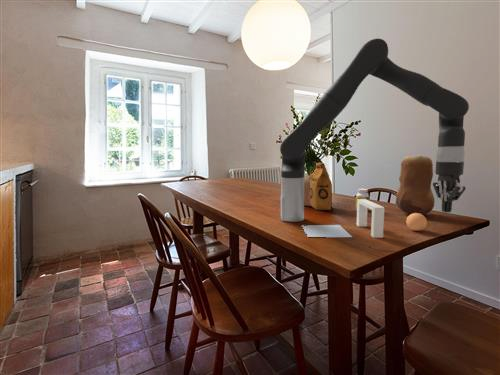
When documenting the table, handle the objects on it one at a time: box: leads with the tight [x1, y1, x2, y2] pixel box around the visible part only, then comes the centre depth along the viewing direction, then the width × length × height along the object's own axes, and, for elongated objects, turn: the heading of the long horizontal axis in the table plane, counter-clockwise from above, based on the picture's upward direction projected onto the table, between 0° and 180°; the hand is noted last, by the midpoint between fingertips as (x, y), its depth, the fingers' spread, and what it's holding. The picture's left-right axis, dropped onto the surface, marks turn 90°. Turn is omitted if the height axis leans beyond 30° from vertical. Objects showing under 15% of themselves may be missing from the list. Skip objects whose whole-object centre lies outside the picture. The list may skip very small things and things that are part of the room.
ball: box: [405, 213, 428, 232], centre depth 94 cm, size 6×6×6 cm
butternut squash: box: [395, 155, 435, 216], centre depth 115 cm, size 14×13×25 cm
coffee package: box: [308, 162, 333, 211], centre depth 132 cm, size 10×12×22 cm
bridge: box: [356, 199, 385, 239], centre depth 94 cm, size 3×15×10 cm, turn 178°
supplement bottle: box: [355, 188, 370, 212], centre depth 126 cm, size 5×5×10 cm
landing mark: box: [300, 224, 353, 238], centre depth 95 cm, size 14×14×1 cm
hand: (446, 211), depth 93 cm, fingers closed
